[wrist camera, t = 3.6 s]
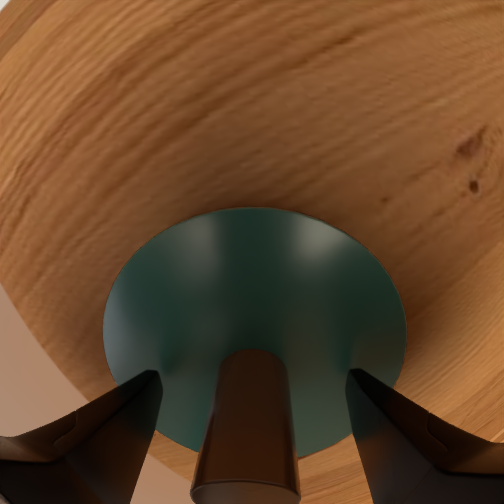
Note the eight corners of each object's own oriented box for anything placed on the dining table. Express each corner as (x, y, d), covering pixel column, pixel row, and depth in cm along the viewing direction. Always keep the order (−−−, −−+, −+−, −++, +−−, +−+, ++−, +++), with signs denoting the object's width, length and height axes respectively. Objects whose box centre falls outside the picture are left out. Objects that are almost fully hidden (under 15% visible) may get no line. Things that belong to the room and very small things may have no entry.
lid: (220, 465, 12) (206, 557, 6) (69, 303, 10) (-29, 379, 4) (422, 378, 10) (483, 471, 4) (311, 139, 8) (396, 64, 2)
